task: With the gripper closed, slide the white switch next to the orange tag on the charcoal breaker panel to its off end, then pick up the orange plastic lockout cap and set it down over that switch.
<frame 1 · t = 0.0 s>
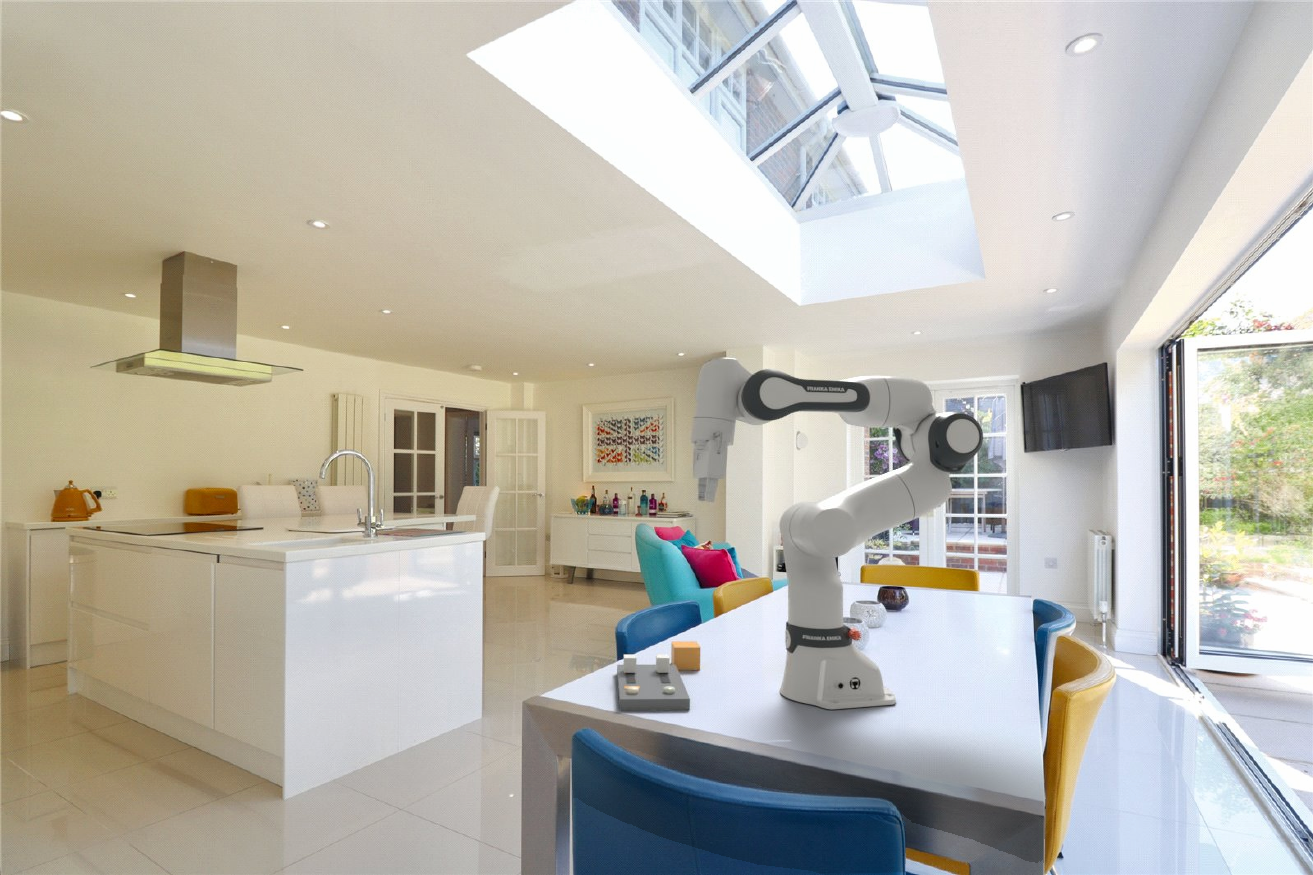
hand: (705, 501, 134), 39 cm above the table, tool pointing down, fingers open, 8 cm apart
breaker a: (662, 663, 139), point 4 cm above the table, slide at 0.0 cm
breaker b: (629, 663, 139), point 4 cm above the table, slide at 0.0 cm
breaker panel: (650, 690, 133), on the table
lockout cap: (685, 666, 152), on the table
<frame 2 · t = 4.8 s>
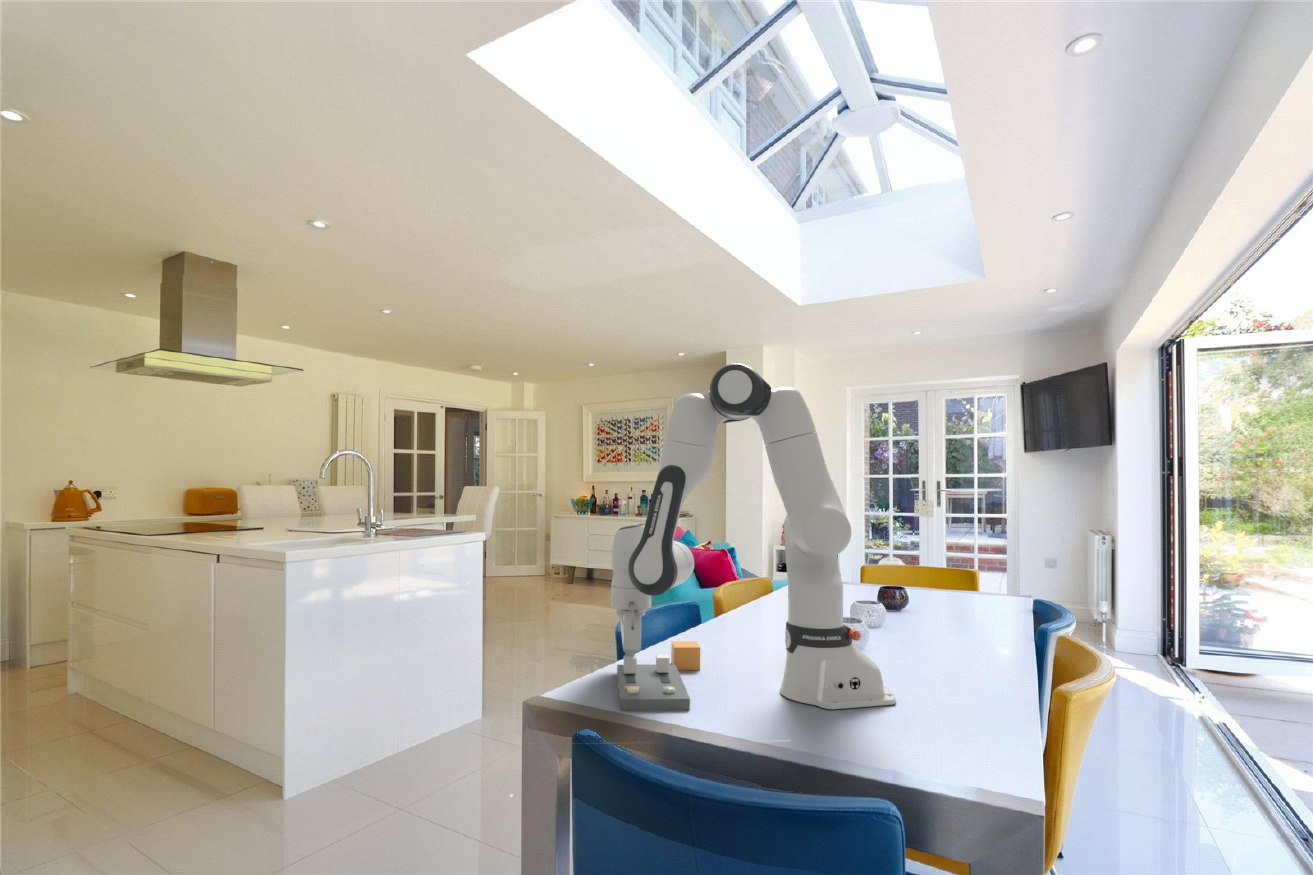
hand: (629, 663, 141), 3 cm above the table, tool pointing down, fingers closed
breaker b: (630, 664, 138), point 4 cm above the table, slide at 0.7 cm, touching gripper
everything else where it was.
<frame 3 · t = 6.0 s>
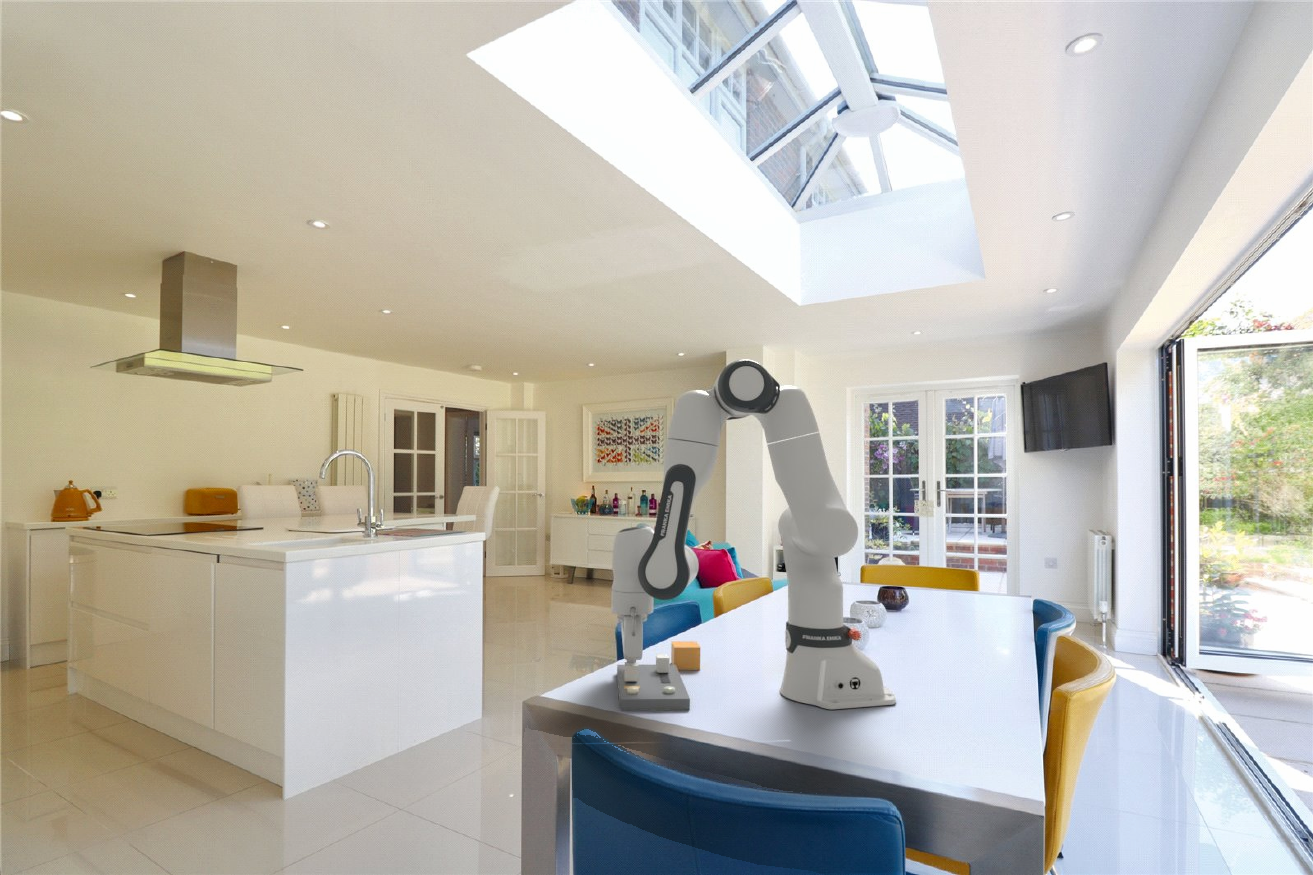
hand: (630, 671, 136), 3 cm above the table, tool pointing down, fingers closed
breaker b: (631, 671, 133), point 4 cm above the table, slide at 6.2 cm, touching gripper
everything else where it was.
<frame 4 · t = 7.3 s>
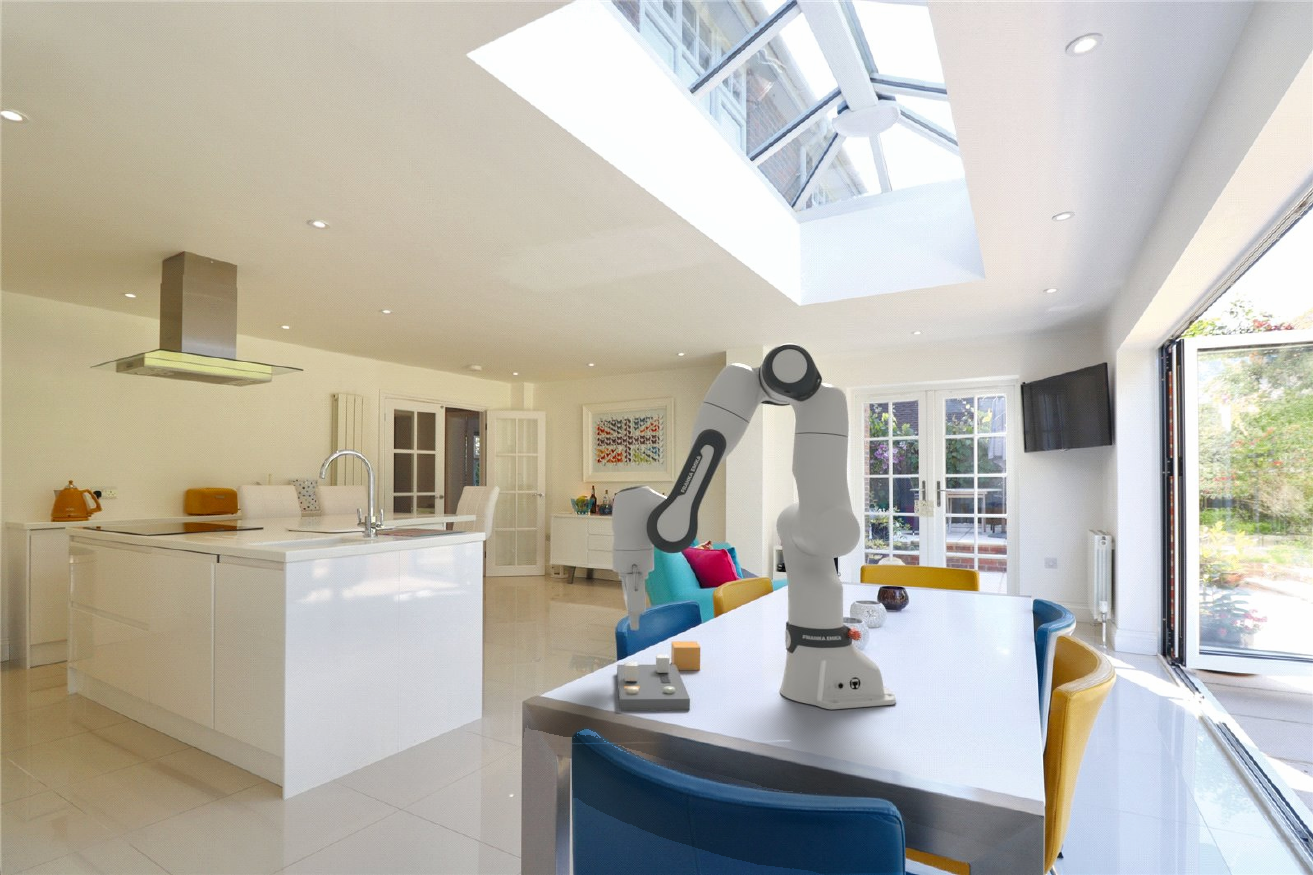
hand: (634, 628, 137), 11 cm above the table, tool pointing down, fingers closed
breaker b: (631, 671, 133), point 4 cm above the table, slide at 6.1 cm
everything else where it was.
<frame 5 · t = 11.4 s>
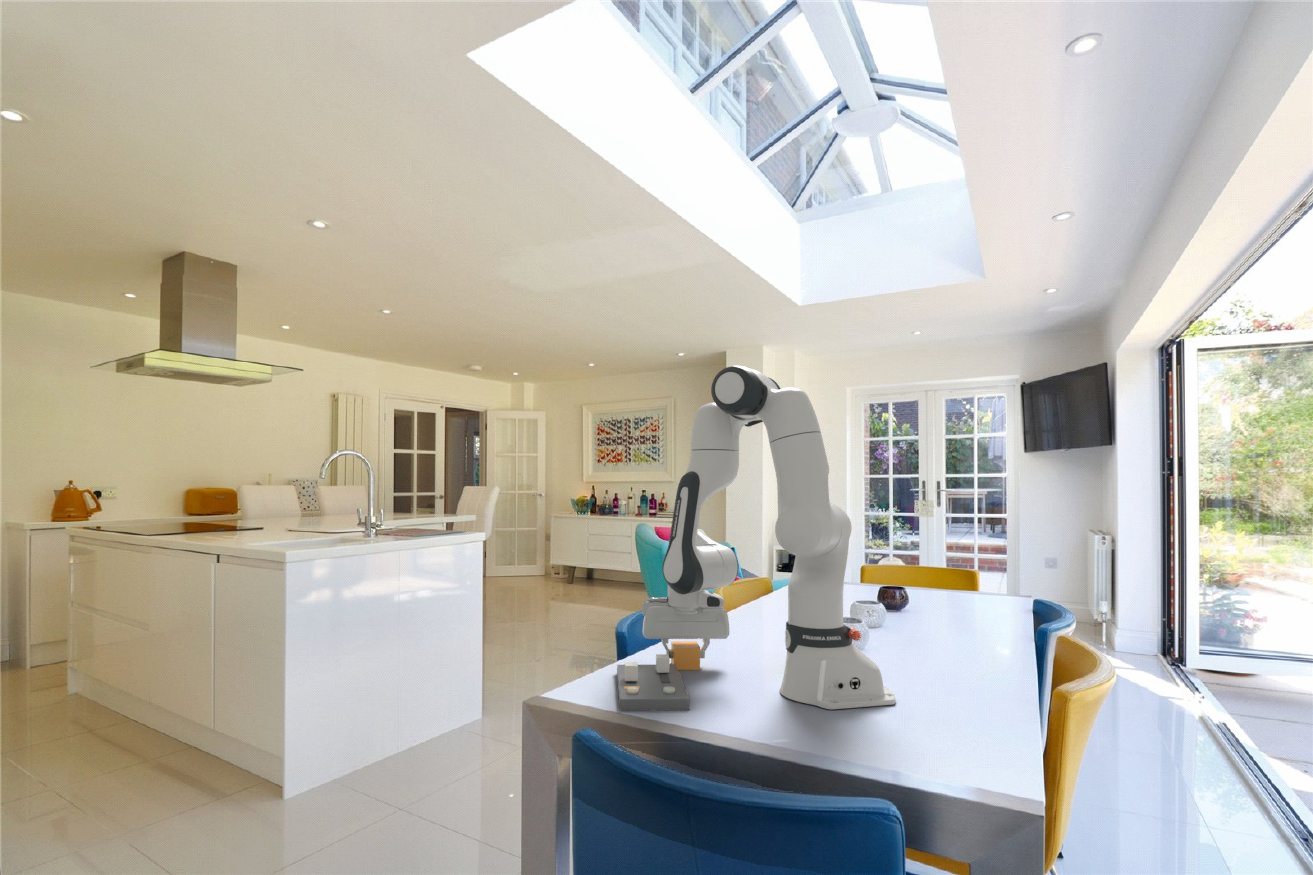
hand: (685, 658, 152), 2 cm above the table, tool pointing down, fingers closed on lockout cap, 6 cm apart
lockout cap: (685, 666, 152), on the table, touching gripper
everything else where it was.
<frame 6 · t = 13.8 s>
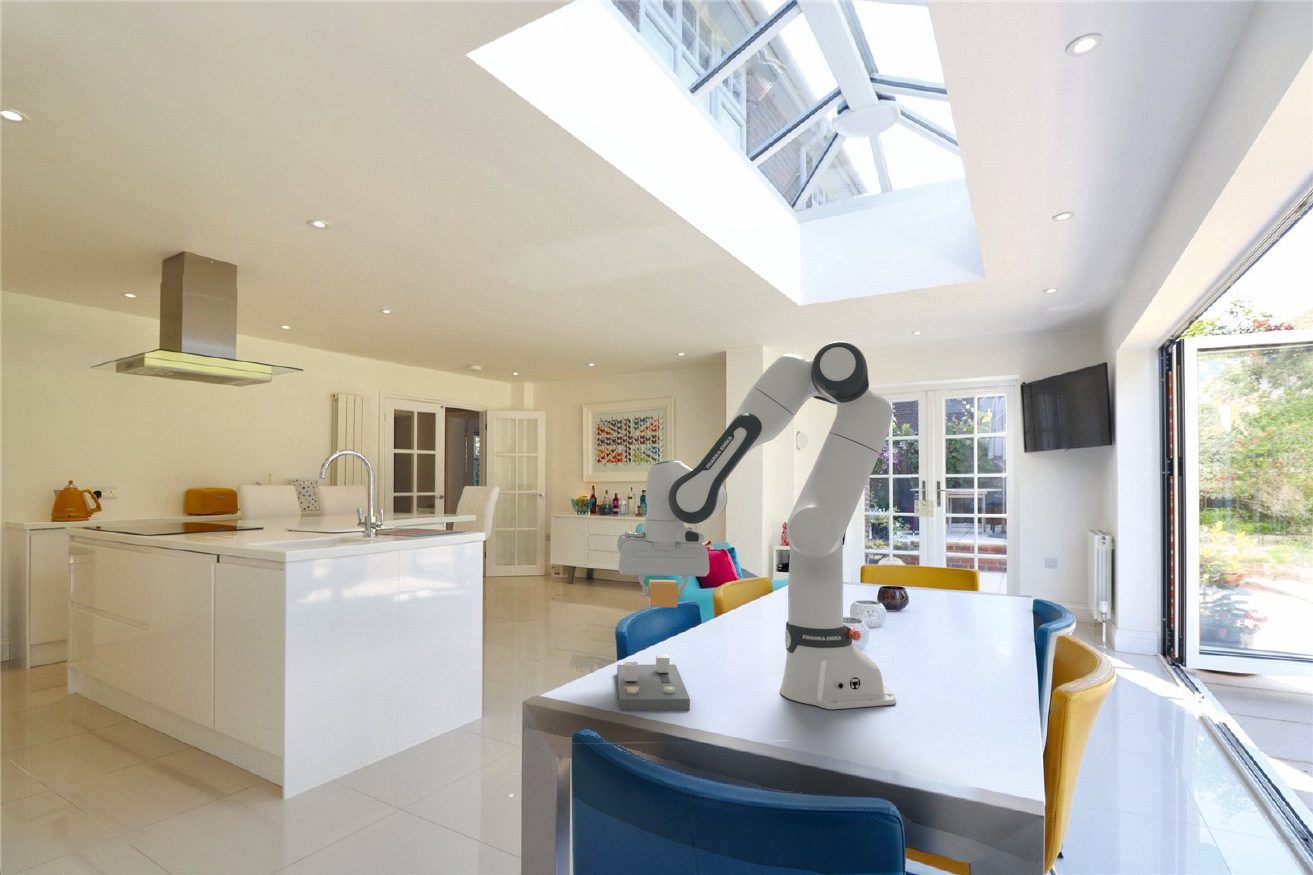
hand: (662, 596, 145), 17 cm above the table, tool pointing down, fingers closed on lockout cap, 6 cm apart
lockout cap: (662, 604, 145), point 15 cm above the table, touching gripper
everything else where it was.
when the fingers open (5 cm above the table, at t = 16.7 s): lockout cap stays where it is, resting on breaker panel.
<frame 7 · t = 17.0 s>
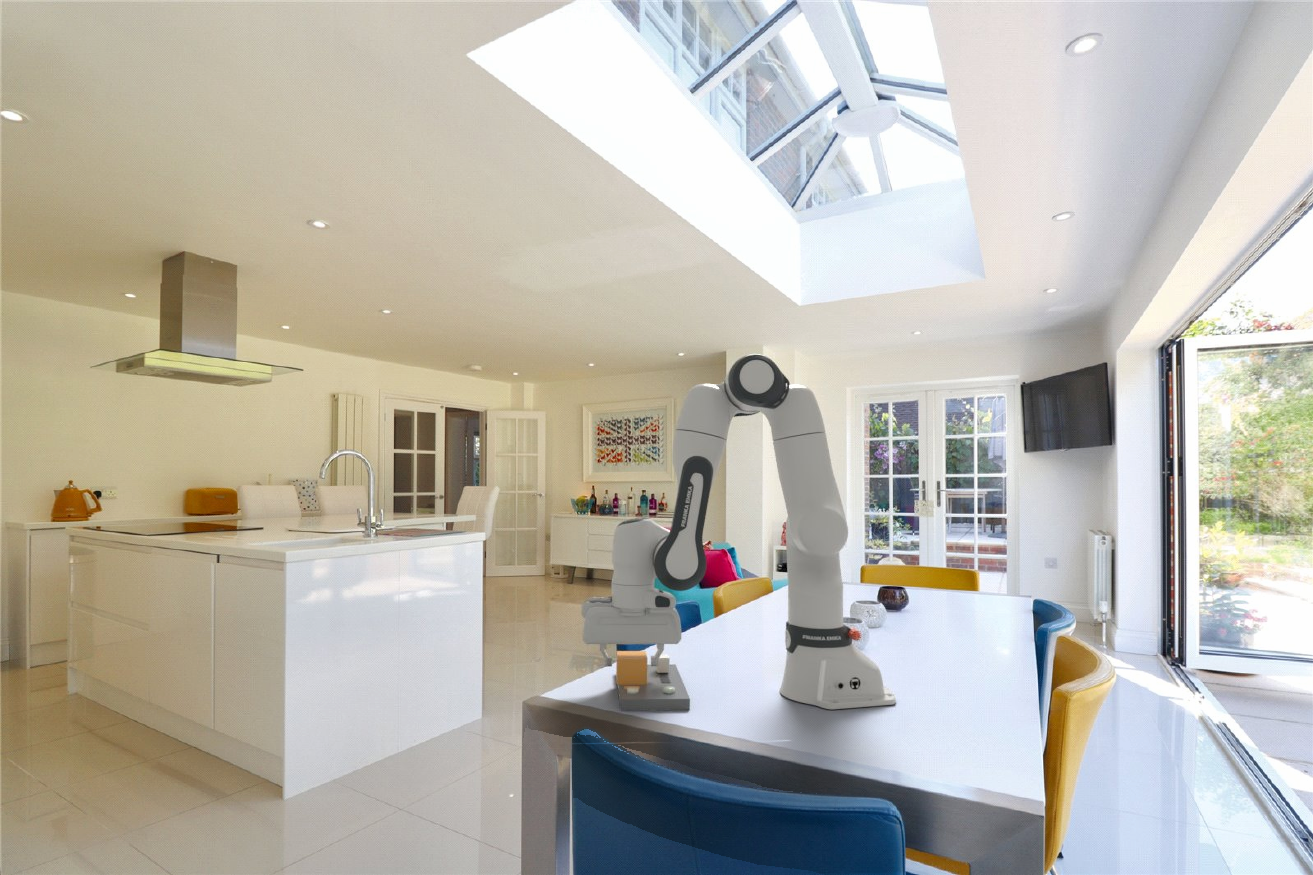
hand: (631, 665, 133), 5 cm above the table, tool pointing down, fingers open, 8 cm apart
lockout cap: (631, 680, 133), point 2 cm above the table, touching breaker panel
everything else where it was.
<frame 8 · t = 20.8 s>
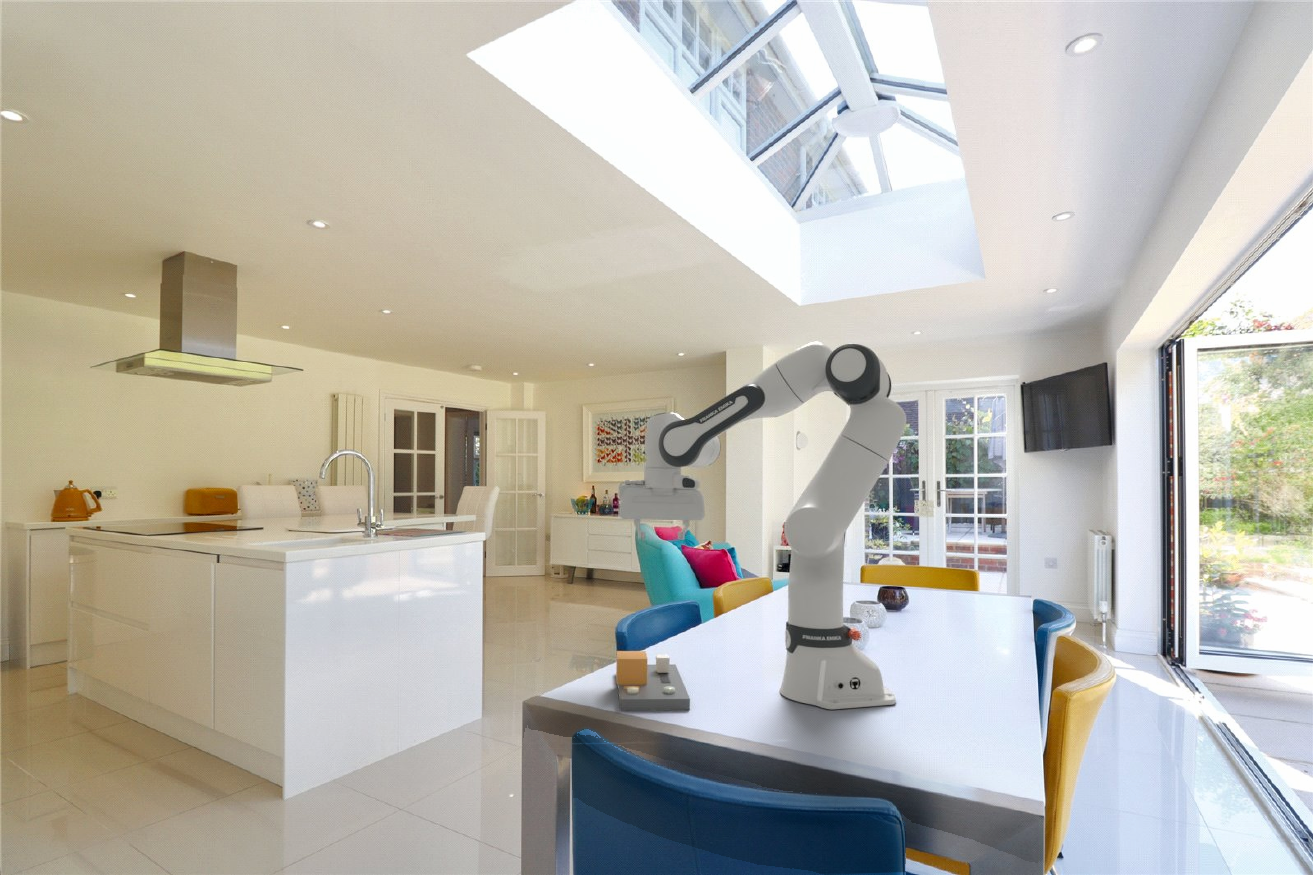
hand: (661, 539, 154), 29 cm above the table, tool pointing down, fingers open, 8 cm apart
nothing on the table moved.
at the end: breaker b slide at 6.1 cm; lockout cap 0.1 cm from the target spot, point 2.1 cm above the table; breaker a slide at 0.0 cm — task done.
